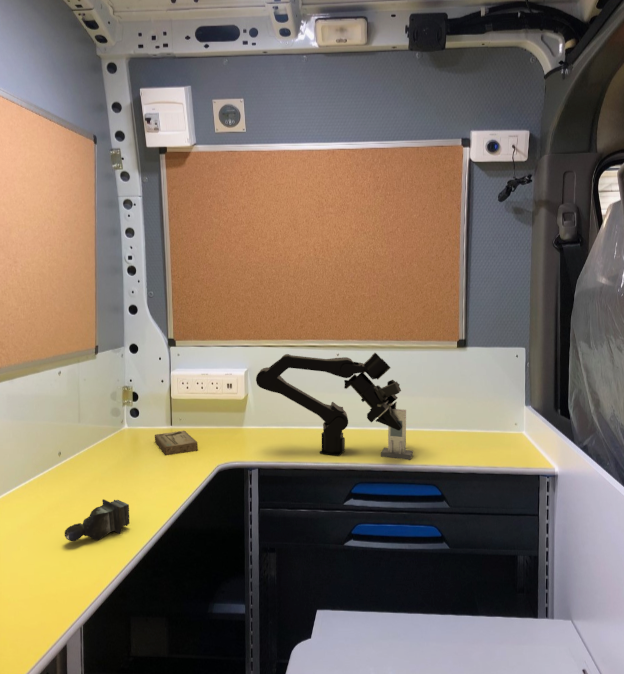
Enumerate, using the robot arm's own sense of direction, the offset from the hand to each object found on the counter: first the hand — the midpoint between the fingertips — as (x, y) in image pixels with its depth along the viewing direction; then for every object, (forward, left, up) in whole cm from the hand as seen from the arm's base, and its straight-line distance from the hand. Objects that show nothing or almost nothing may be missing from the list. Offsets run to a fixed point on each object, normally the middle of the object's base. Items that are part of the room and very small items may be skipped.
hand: (401, 427), depth 166 cm
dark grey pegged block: (-1, 0, -9) cm, 9 cm away
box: (-72, -14, -10) cm, 74 cm away
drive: (-1, 0, -8) cm, 8 cm away
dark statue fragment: (-50, -74, -9) cm, 90 cm away
